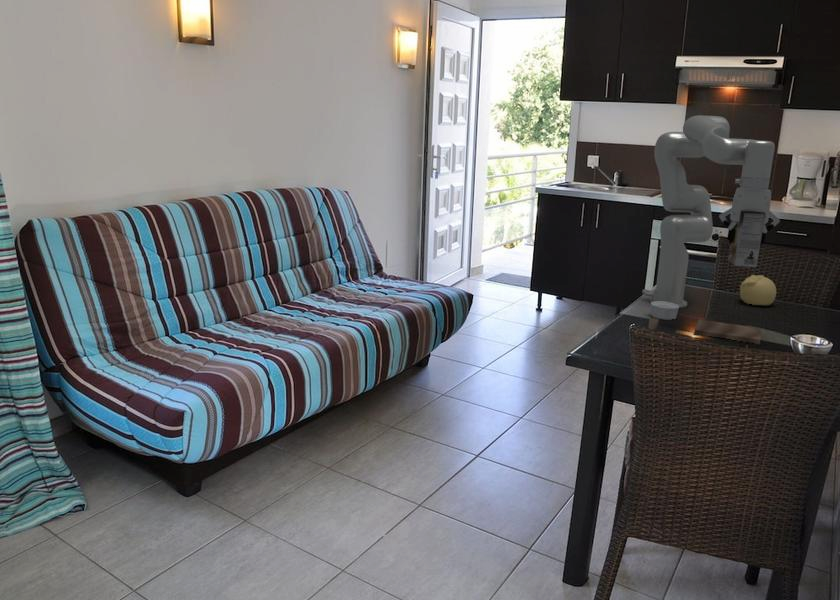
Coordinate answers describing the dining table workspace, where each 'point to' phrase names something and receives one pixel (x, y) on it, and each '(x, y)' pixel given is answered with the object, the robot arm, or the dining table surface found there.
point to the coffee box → (747, 239)
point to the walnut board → (728, 331)
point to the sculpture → (758, 290)
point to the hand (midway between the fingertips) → (745, 244)
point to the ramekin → (664, 310)
